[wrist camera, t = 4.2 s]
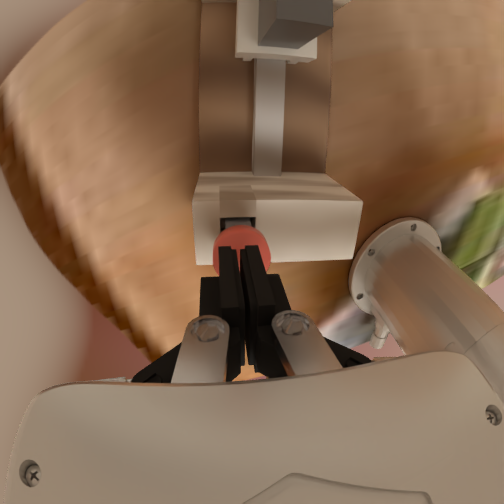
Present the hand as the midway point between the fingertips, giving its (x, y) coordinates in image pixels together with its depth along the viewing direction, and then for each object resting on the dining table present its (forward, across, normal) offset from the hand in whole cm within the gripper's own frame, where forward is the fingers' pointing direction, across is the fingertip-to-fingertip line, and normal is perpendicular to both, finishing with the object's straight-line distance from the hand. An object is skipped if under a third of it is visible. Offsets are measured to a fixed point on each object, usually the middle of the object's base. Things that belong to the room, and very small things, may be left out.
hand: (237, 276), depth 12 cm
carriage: (+11, -3, -13) cm, 17 cm away
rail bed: (+13, -3, -9) cm, 16 cm away
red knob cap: (+5, 0, 0) cm, 5 cm away
